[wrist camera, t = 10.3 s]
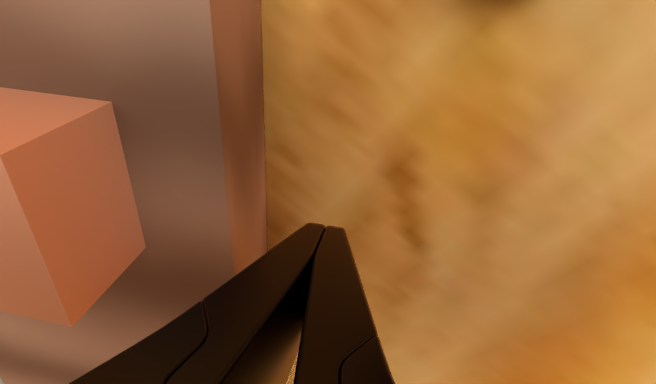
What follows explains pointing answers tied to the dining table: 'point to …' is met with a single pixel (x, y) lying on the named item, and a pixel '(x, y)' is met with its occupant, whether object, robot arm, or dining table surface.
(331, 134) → the dining table surface
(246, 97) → the plate
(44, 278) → the salmon pink cube
